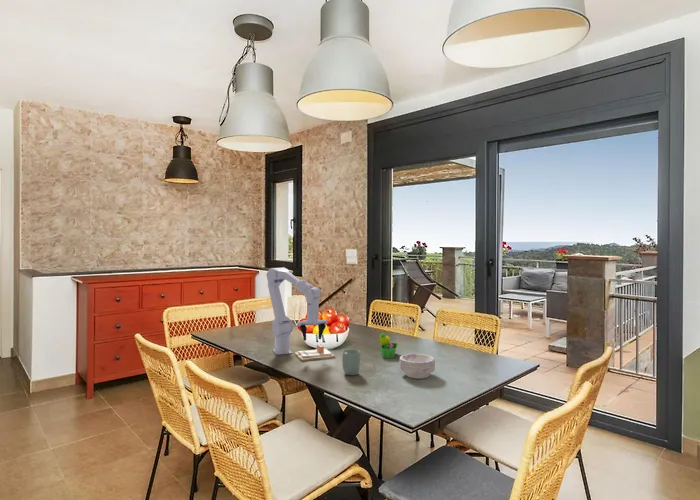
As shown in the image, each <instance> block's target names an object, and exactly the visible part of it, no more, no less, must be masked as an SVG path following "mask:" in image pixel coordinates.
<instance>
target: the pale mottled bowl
mask: <svg viewBox="0 0 700 500" xmlns="http://www.w3.org/2000/svg"><path fill="white" fill-rule="evenodd" d="M435 367H436V359H435V357H434V356H431V355H428V354H423V353H420V354H419V353H407V354H406V353H405V354H403V355H401V356H399V370H400V371H403V372H404V375H405V376H406V377H408V378H411V379H416V380H417V379H418V380H419V379H420V380H421V379H422V380H423V379H426V378H428V377H429V376H430V375H431V373H433V372H435V371H436V368H435Z"/></svg>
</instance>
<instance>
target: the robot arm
mask: <svg viewBox="0 0 700 500" xmlns="http://www.w3.org/2000/svg"><path fill="white" fill-rule="evenodd" d="M265 274H266V275H265V276H266V279H267V288H268V291H269V292H268V293H269V297H270V302H271V304H272V305H271V306H272V311H273V314H274V315H273V316H274V319H273V320H272V322H271V324H272V329H271V331H272V333H273V335H274V336H275V337H274V348H273V349H272V351H273V352H274V354H276V355H277V356H278V355H288V354H292V353H293V352H292V350H290V346H291V345H290V343H291V342H290V340H291V338H290V336H291V333H292V332H293V328H294V325H293V324H292V322H291V320H290V317H288V316H286V312H285V307H284V304H283V303H284V302H283V299H282V295H281V290H280V286H281V284H282V283H283V282H284V281H285V280H286V281H287V282H289V283H290V284H292V285H293V286H295V289H296V290H297V291H299V292H300V293H301V294H303V296H304V297H305V301H306V319H305V320H299V321H297V326H298V327H299V328H300V331H301V333H302V337H303V341H305V342H306V341H307V329H308V328H307V326H317V327H318V328H317V329H318V333H317V334H318V338H317V339H318V340H322V337H323V333H324V331H325V329H326V325H327V324H328V320H327V319H319V307H320V306H319V303H320V301H319V299H320V298H321V296H322V291H321V289H320V287H318V286H313V284H310V283H309V282H307V280H306V279H299V278H298V277H296V276H295V275H294V274H293V273H291V272H290V270H289V269H288V268H286V267H284V266H283V267H271V268H269V269H268V271H267V272H266V273H265Z"/></svg>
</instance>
